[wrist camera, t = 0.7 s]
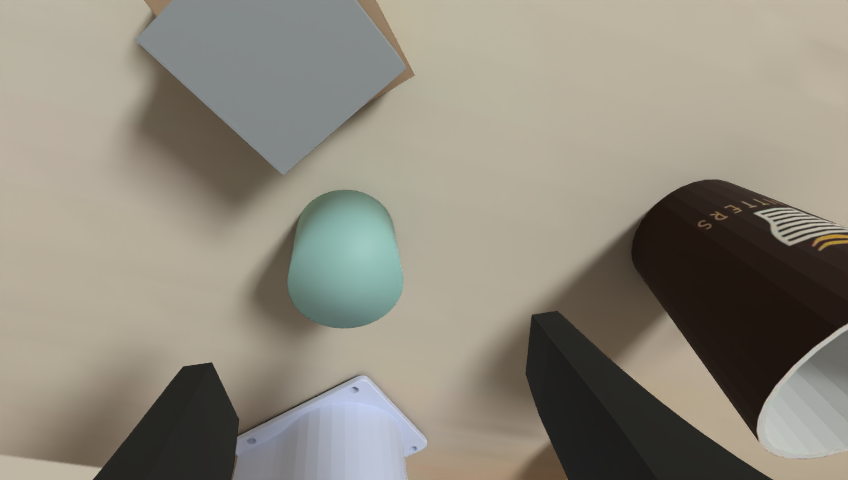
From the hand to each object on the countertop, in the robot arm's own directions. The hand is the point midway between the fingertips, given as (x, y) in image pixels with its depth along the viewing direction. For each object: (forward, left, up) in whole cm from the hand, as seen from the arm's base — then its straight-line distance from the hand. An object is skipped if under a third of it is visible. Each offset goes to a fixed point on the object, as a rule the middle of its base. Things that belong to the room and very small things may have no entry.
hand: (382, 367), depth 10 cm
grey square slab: (+1, +6, -9) cm, 11 cm away
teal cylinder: (-2, -2, -11) cm, 11 cm away
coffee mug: (+14, -13, -11) cm, 22 cm away
